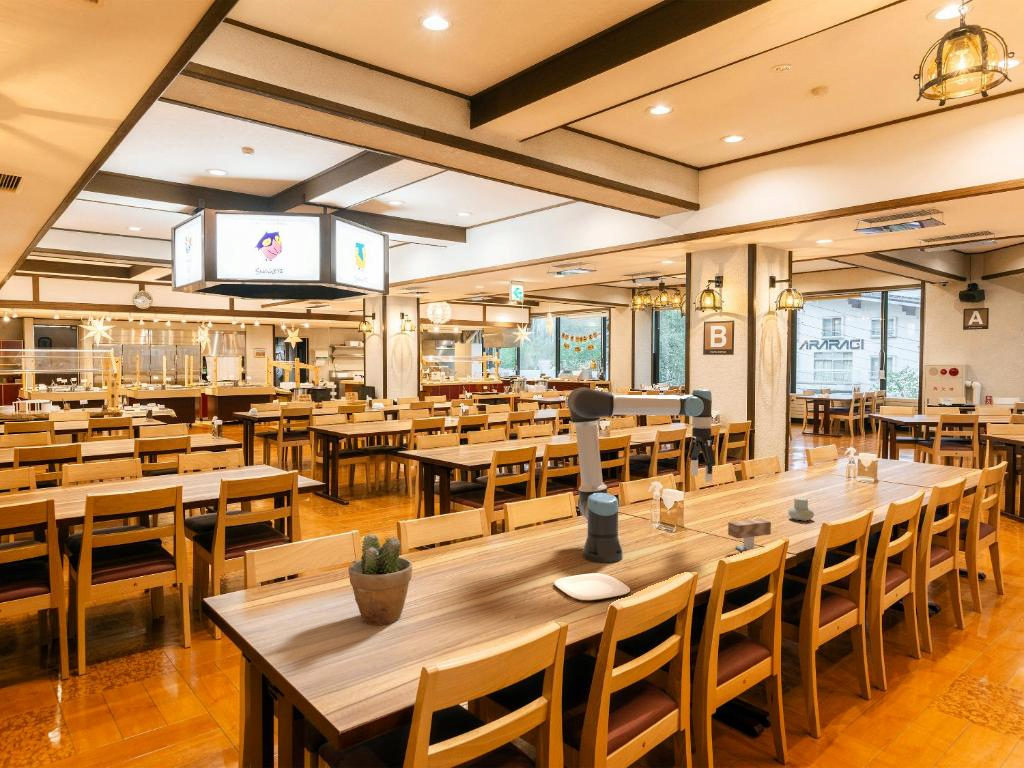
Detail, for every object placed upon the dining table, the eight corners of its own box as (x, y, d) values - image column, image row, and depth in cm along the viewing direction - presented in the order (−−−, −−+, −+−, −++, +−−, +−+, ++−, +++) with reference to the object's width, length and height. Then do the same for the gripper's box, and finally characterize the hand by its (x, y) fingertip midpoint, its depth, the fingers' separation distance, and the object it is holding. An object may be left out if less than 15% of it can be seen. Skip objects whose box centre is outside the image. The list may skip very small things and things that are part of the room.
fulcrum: (745, 554, 244) (745, 537, 244) (735, 548, 252) (735, 532, 252) (762, 553, 245) (762, 537, 245) (751, 547, 253) (752, 531, 252)
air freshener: (803, 516, 303) (803, 496, 302) (816, 520, 295) (817, 499, 295) (785, 518, 299) (785, 497, 299) (798, 522, 292) (798, 501, 291)
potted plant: (335, 625, 179) (334, 538, 179) (372, 602, 197) (371, 523, 196) (391, 635, 173) (390, 545, 172) (424, 610, 190) (423, 528, 189)
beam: (737, 538, 243) (737, 525, 243) (728, 534, 248) (728, 522, 248) (770, 534, 248) (770, 521, 248) (760, 531, 253) (760, 518, 253)
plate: (578, 607, 193) (578, 601, 193) (547, 584, 213) (547, 579, 213) (638, 596, 202) (638, 591, 202) (602, 575, 222) (602, 570, 222)
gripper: (724, 430, 246) (724, 484, 247) (697, 424, 271) (697, 473, 271) (706, 430, 245) (705, 484, 246) (681, 424, 270) (680, 473, 270)
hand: (701, 478), depth 258 cm, fingers open, 13 cm apart
